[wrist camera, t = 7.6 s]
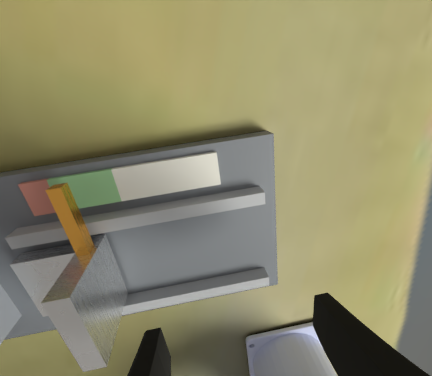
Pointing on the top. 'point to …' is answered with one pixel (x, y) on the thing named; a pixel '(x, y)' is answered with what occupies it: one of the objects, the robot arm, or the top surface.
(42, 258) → the gauge pointer slider
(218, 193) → the gauge base
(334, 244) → the top surface
